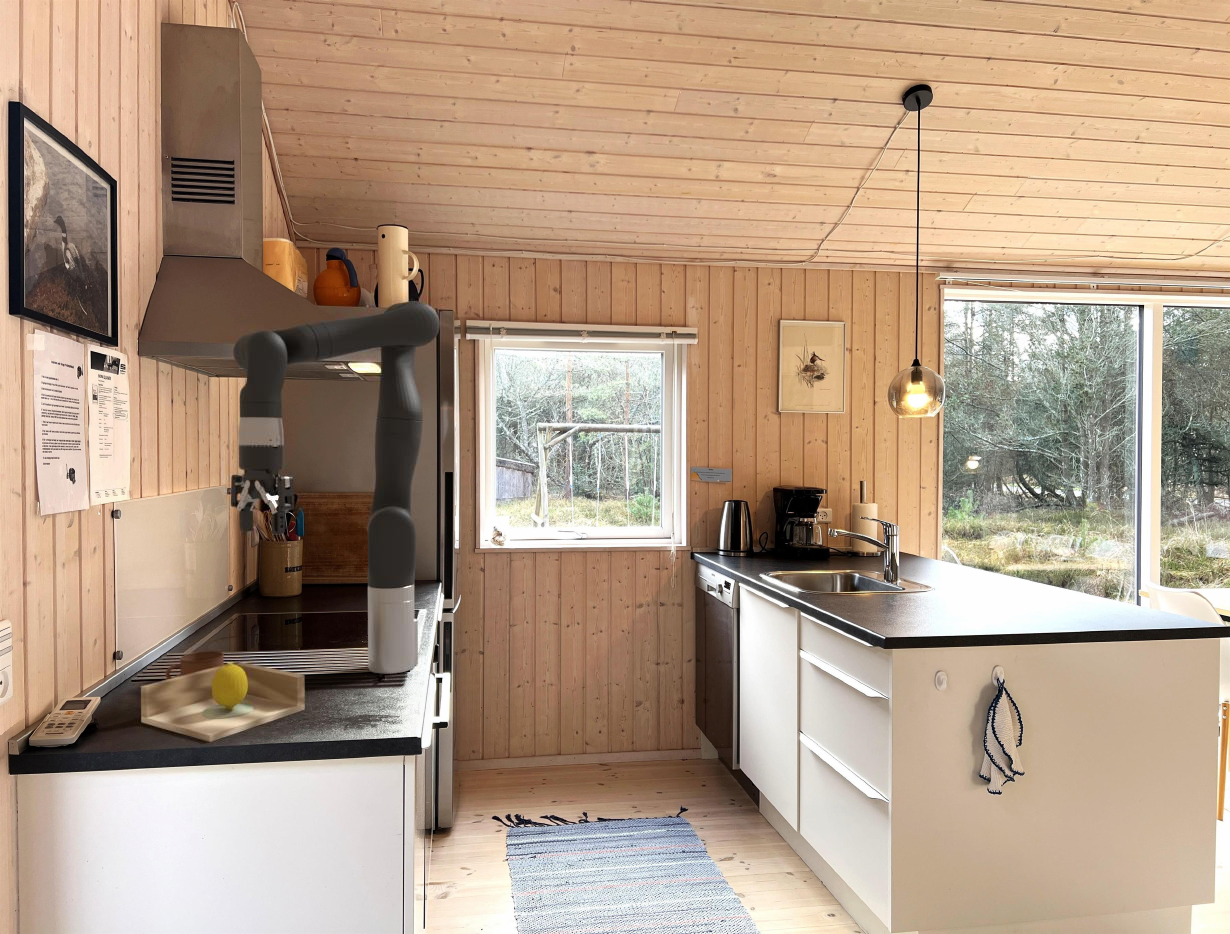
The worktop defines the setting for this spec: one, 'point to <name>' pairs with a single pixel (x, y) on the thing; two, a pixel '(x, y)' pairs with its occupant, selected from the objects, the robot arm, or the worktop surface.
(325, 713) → the worktop surface
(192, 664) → the cup and saucer
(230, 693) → the lemon
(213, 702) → the tray
